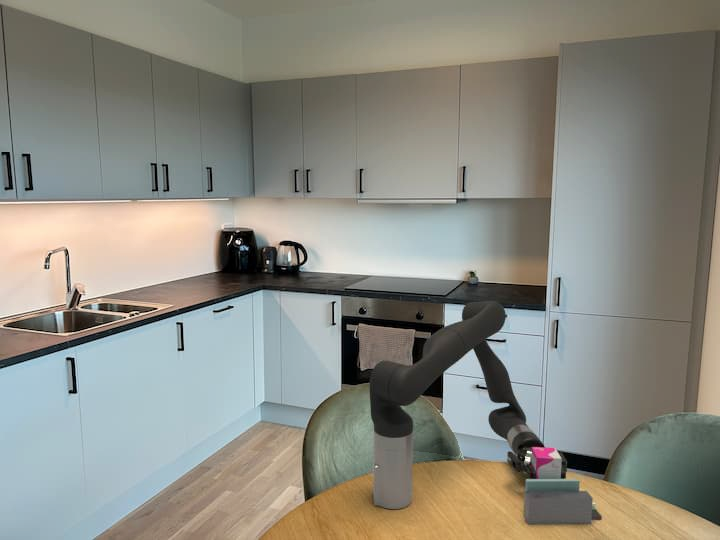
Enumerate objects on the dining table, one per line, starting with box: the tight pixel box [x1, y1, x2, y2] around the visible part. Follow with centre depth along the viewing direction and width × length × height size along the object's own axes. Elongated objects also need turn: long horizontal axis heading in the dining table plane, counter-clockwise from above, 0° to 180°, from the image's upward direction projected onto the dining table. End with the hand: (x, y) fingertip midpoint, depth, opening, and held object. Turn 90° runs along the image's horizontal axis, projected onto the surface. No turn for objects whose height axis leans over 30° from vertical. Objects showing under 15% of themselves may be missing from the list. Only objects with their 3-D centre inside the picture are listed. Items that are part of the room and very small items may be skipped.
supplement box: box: [531, 447, 562, 479], centre depth 125 cm, size 6×6×12 cm
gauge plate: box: [524, 478, 596, 508], centre depth 120 cm, size 16×1×7 cm, turn 91°
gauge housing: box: [523, 490, 603, 525], centre depth 121 cm, size 17×10×6 cm, turn 91°
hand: (548, 476), depth 122 cm, fingers closed on supplement box, 6 cm apart
